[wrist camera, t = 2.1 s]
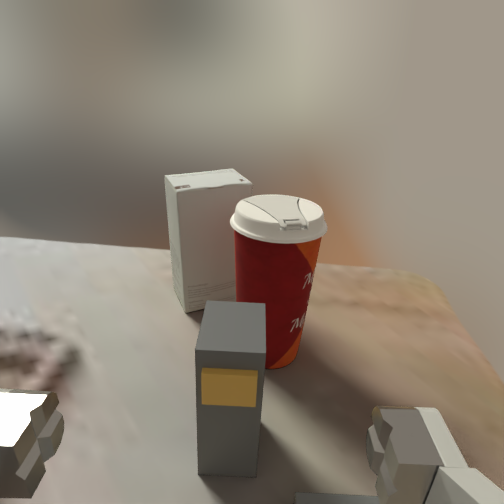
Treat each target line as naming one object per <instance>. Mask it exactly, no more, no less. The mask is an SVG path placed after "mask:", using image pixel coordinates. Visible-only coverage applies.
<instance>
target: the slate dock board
mask: <svg viewBox="0 0 504 504" xmlns="http://www.w3.org/2000/svg"><path fill="white" fill-rule="evenodd" d="M294 504H380V502H379V498H378V496H362V495H343V494H324V493H305V492H295V497H294Z"/></svg>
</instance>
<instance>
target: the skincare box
mask: <svg viewBox="0 0 504 504" xmlns="http://www.w3.org/2000/svg"><path fill="white" fill-rule="evenodd" d="M252 189H253V184H252V183H251V182H250V181H248V180H247V179H246V178H245V177H243V176H242V175H240V174H239V173H238V172H236V171H235V170H234V169H224V170H216V171H206V172H197V173H186V174H175V175H165V190H166V205H167V215H168V227H169V239H170V251H171V263H172V275H173V287H174V289H175V292H176V294H177V296H178V298H179V300H180V303H181V305H182V307H183V309H184V312H185V313H188V312H192V311H197V310H201V309H205V305H206V301H207V300H209V301H228V302H236V276H235V242H234V229H233V228H232V226H231V224H230V219H231V217H232V215H233V214H234V213H235V209H236V206H237V204H238V202H240V201H241V200H243V199H245V198H248V197H252Z"/></svg>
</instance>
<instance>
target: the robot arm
mask: <svg viewBox="0 0 504 504" xmlns="http://www.w3.org/2000/svg"><path fill="white" fill-rule="evenodd" d="M58 404H59V400H58V397H57V393H54V392H47V391H33V390H19V389H0V498H30V499H31V498H32V496H33V494H34V492H35V490H36V488H37V487H38V485H39V483H40V481H41V479H42V477H43V476H44V474H45V472H46V470H45V465H44V462H45V461H47V460H48V459H49V458H51V457H52V456H53V455H55V453H56V451H57V449H58V447H59V445H60V443H61V440H62V436H63V432H64V420H63V415H62V414H61V413H60V412H58V411H57V410H56V407H57V405H58ZM371 418H372V421H373V425H372V426H371V427H370V428H368V432H367V437H366V451H367V457H368V462H369V466H370V469H371V470H372V471H373V472H374V473H375V474H376V475H377V476H378V477H377V481H376V485H375V487H376V491H377V495H378V498H379V502H380V504H504V491H503V490H501V489H500V488H499V487H498V486H496V485H495V484H494V483H493V482H492V481H490V480H489V479H488V478H487V477H486V476H484V475H483V474H482V473H481V472H479V471H478V470H477V469H476V468H469V466H468V465H467V463H466V461H465V459H464V457H463V455H462V453H461V451H460V450H459V448H458V446H457V444H456V442H455V440H454V438H453V436H452V435H451V433H450V431H449V429H448V427H447V425H446V423H445V421H444V420H443V418H442V416H441V414H440V412H439V411H438V410H437V409H436V408H423V407H415V408H414V407H399V406H375V407H374V408H373V411H372V415H371Z"/></svg>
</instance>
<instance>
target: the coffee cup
mask: <svg viewBox="0 0 504 504" xmlns="http://www.w3.org/2000/svg"><path fill="white" fill-rule="evenodd" d="M230 224H231V226H232V228H233V229H234V242H235V276H236V302H247V303H265V318H266V360H265V369H277V368H282V367H284V366H287V365H288V364H290V363H291V362H292V361H293V360H294V359H295V357H296V355H297V351H298V348H299V343H300V339H301V335H302V330H303V325H304V320H305V316H306V311H307V306H308V301H309V296H310V291H311V287H312V282H313V277H314V272H315V267H316V262H317V257H318V252H319V247H320V242H321V237H322V236H323V235H324V234H325V233H326V232H327V224H326V222H325V220H324V213H323V210H322V208H321V207H320V206H319V205H317V204H315V203H313V202H312V201H309V200H306V199H303V198H299V197H293V196H287V195H257V196H252V197H248V198H245V199H243V200H241V201H240V202H238V204H237V206H236V209H235V213H234V214H233V215H232V217H231V219H230Z"/></svg>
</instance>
